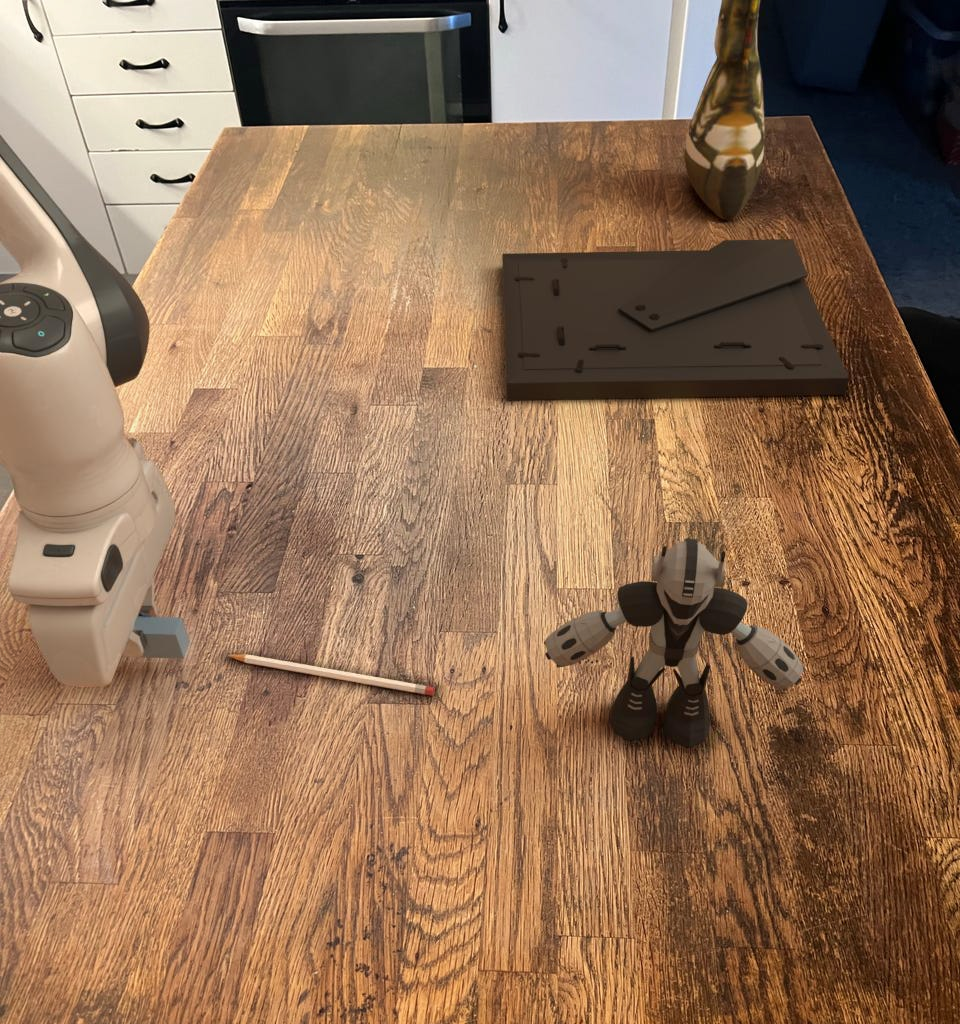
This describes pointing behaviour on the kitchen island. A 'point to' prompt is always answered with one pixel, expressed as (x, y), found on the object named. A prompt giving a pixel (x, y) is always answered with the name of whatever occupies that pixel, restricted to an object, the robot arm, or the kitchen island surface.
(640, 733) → the robot
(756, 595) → the kitchen island surface
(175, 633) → the grey mallet
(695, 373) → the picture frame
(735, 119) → the statue
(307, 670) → the pencil
